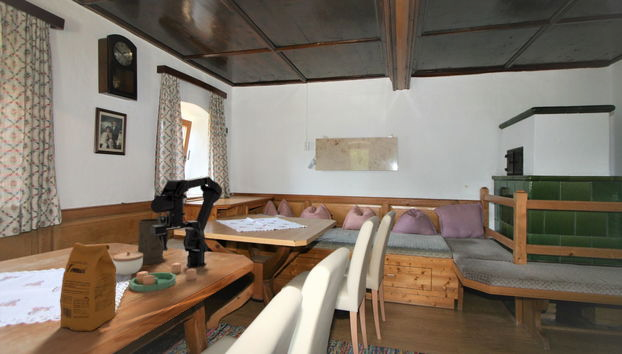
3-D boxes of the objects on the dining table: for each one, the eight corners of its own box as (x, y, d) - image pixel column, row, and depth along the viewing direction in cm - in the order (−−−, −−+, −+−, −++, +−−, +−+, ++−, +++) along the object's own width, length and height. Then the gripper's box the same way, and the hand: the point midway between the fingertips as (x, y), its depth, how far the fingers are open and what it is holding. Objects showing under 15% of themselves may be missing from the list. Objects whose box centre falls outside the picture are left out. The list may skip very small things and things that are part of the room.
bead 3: (178, 271, 129) (178, 262, 129) (182, 273, 127) (182, 264, 127) (169, 273, 126) (169, 264, 126) (173, 275, 124) (174, 266, 124)
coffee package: (88, 312, 91) (88, 238, 91) (121, 317, 88) (122, 241, 88) (52, 328, 82) (52, 245, 81) (88, 335, 78) (88, 249, 78)
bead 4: (193, 278, 122) (193, 268, 121) (197, 280, 119) (198, 270, 119) (184, 280, 119) (184, 270, 119) (189, 282, 116) (189, 272, 116)
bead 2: (151, 285, 111) (152, 274, 111) (156, 287, 109) (156, 276, 109) (141, 287, 109) (141, 276, 109) (145, 290, 106) (145, 278, 106)
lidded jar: (129, 279, 119) (129, 255, 119) (106, 277, 121) (106, 253, 121) (149, 271, 130) (149, 248, 130) (127, 269, 132) (127, 247, 132)
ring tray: (164, 276, 123) (164, 269, 123) (183, 285, 114) (183, 278, 114) (123, 286, 112) (123, 279, 112) (140, 297, 102) (140, 289, 102)
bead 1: (145, 281, 115) (145, 270, 115) (149, 283, 113) (149, 272, 113) (135, 283, 112) (135, 273, 112) (139, 286, 110) (139, 275, 110)
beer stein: (149, 265, 136) (152, 220, 138) (130, 263, 139) (133, 219, 141) (173, 259, 151) (176, 218, 152) (156, 257, 154) (158, 217, 155)
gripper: (187, 206, 139) (187, 240, 139) (143, 210, 124) (143, 248, 125) (200, 208, 131) (200, 244, 132) (156, 213, 117) (156, 253, 117)
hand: (176, 247), depth 127 cm, fingers open, 9 cm apart
